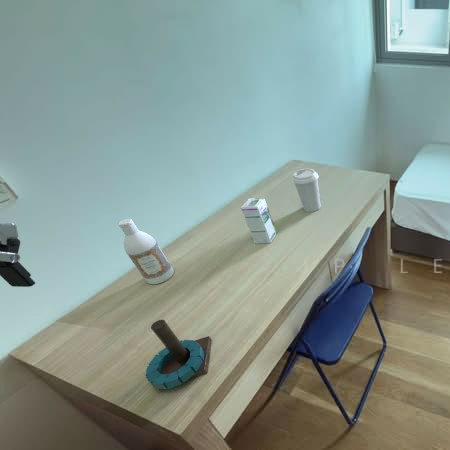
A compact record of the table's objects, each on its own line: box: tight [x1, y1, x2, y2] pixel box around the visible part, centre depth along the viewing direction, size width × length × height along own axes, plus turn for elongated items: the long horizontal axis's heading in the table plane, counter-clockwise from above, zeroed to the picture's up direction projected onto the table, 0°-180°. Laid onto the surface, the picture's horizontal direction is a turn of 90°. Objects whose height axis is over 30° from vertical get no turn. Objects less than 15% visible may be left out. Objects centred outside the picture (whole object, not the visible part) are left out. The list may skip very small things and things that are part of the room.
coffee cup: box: [291, 168, 322, 213], centre depth 118 cm, size 10×10×15 cm
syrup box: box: [240, 197, 278, 244], centre depth 102 cm, size 6×6×14 cm
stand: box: [150, 319, 212, 390], centre depth 65 cm, size 9×9×14 cm
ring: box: [145, 339, 204, 390], centre depth 66 cm, size 10×10×2 cm
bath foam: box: [117, 218, 175, 285], centre depth 86 cm, size 7×7×20 cm
